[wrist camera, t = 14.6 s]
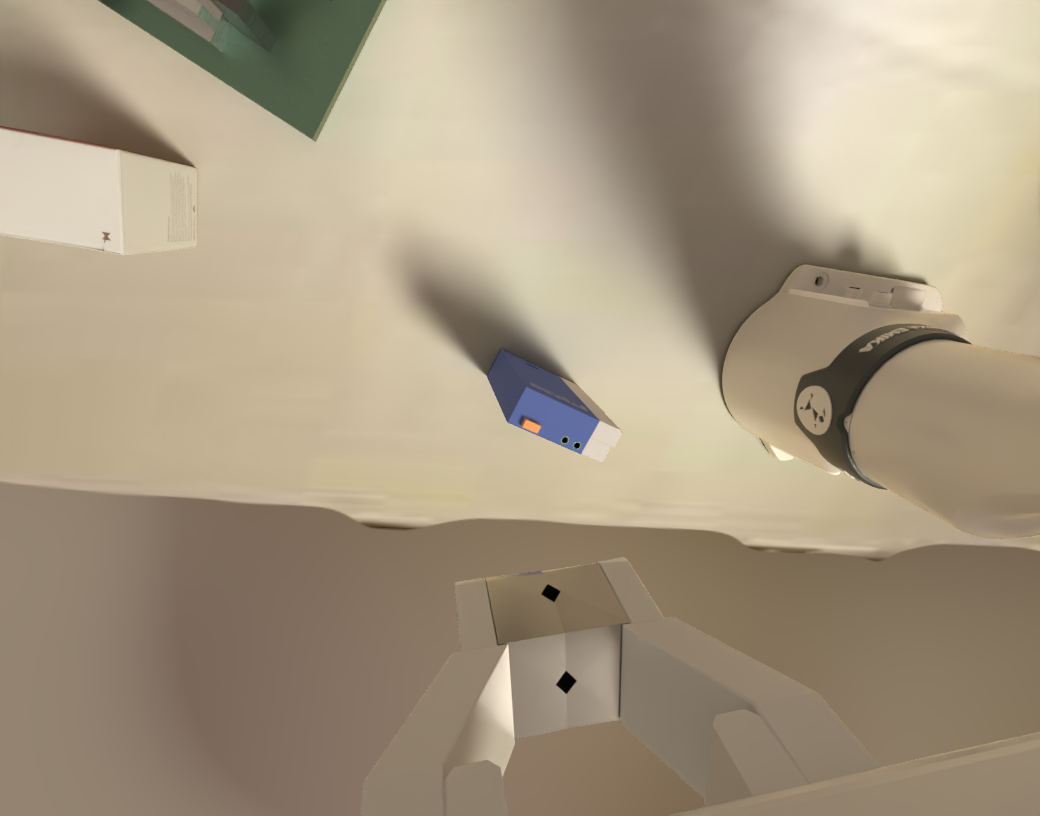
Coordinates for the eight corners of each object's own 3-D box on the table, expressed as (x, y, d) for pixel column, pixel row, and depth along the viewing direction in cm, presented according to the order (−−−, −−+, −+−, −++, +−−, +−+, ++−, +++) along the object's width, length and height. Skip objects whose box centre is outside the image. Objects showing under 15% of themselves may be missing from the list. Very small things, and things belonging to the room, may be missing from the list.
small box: (199, 167, 38) (123, 148, 28) (199, 249, 40) (126, 257, 30) (68, 142, 36) (-62, 112, 26) (73, 228, 38) (-48, 230, 28)
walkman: (486, 376, 47) (507, 424, 35) (500, 348, 46) (527, 387, 35) (563, 411, 49) (606, 467, 38) (578, 385, 48) (626, 433, 37)
